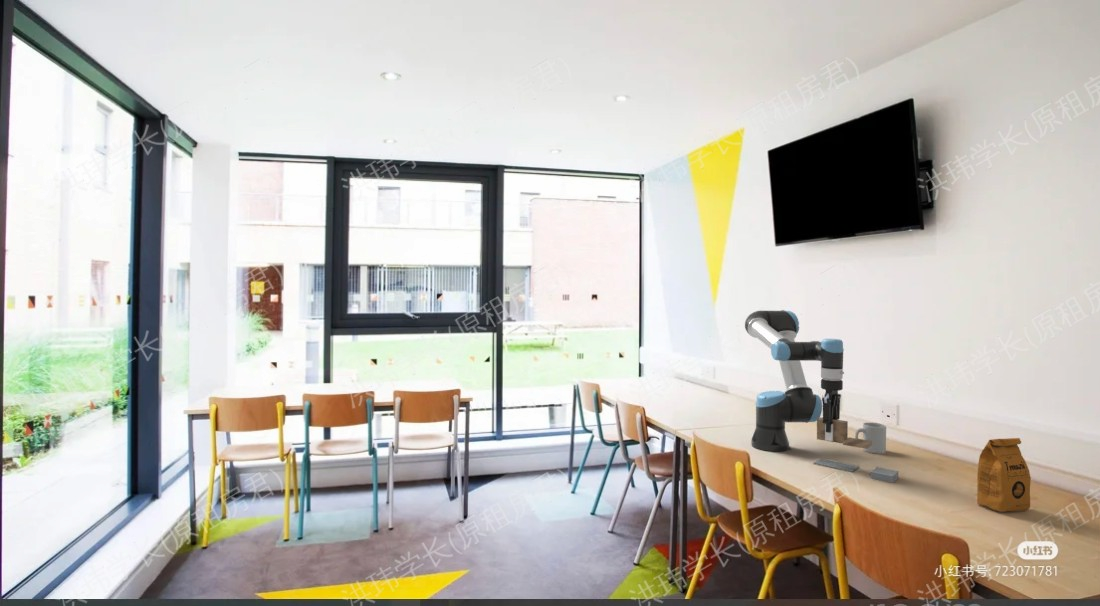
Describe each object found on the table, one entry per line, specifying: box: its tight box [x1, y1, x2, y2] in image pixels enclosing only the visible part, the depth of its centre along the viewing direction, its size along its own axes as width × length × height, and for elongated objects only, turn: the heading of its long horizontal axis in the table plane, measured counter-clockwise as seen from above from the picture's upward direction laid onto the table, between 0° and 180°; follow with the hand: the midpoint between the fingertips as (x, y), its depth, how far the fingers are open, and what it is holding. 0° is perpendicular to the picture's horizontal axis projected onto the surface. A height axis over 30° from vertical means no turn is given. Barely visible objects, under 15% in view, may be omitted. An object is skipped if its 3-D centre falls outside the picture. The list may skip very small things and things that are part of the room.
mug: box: [854, 422, 887, 455], centre depth 236 cm, size 12×8×11 cm
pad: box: [813, 458, 860, 473], centre depth 217 cm, size 14×8×1 cm, turn 45°
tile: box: [870, 466, 900, 484], centre depth 203 cm, size 7×3×8 cm
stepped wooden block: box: [816, 416, 872, 449], centre depth 215 cm, size 18×7×8 cm, turn 45°
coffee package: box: [976, 437, 1032, 513], centre depth 175 cm, size 10×12×22 cm
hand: (831, 439), depth 218 cm, fingers closed on stepped wooden block, 3 cm apart
